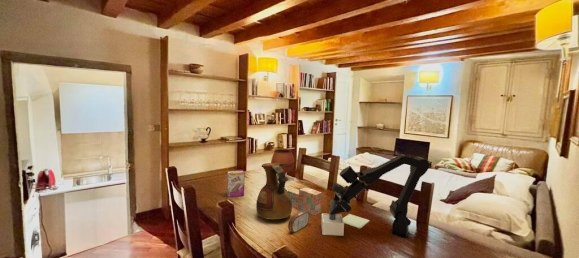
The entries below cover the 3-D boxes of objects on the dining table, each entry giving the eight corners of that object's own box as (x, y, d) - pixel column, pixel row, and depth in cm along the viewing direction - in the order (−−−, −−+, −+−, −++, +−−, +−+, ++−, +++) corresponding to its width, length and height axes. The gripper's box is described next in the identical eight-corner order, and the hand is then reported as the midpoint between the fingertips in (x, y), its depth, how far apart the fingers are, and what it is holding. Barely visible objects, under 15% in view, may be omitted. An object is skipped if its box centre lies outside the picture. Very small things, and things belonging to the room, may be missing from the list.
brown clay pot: (268, 182, 203) (268, 151, 201) (273, 176, 222) (274, 147, 220) (292, 184, 200) (292, 152, 198) (295, 177, 219) (296, 148, 217)
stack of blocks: (287, 205, 159) (287, 185, 158) (293, 202, 164) (294, 183, 163) (314, 215, 145) (315, 194, 144) (321, 212, 149) (322, 192, 148)
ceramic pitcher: (275, 206, 156) (276, 158, 154) (299, 217, 142) (301, 164, 139) (248, 215, 143) (249, 162, 140) (272, 228, 128) (273, 169, 126)
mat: (369, 220, 140) (369, 220, 140) (360, 228, 130) (360, 228, 130) (349, 214, 147) (349, 213, 147) (339, 221, 138) (339, 220, 138)
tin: (305, 222, 136) (305, 207, 135) (310, 224, 134) (310, 209, 133) (287, 233, 124) (287, 216, 123) (292, 235, 122) (292, 218, 121)
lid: (339, 217, 132) (340, 198, 131) (341, 224, 123) (342, 204, 123) (323, 216, 132) (324, 197, 131) (324, 223, 124) (325, 203, 123)
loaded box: (340, 225, 133) (341, 214, 132) (343, 235, 123) (344, 223, 122) (321, 224, 134) (321, 213, 133) (322, 234, 124) (322, 222, 123)
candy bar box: (227, 197, 169) (227, 173, 167) (226, 195, 174) (226, 171, 172) (244, 196, 172) (244, 172, 171) (243, 193, 177) (243, 170, 176)
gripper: (339, 172, 135) (317, 192, 136) (345, 183, 116) (319, 206, 118) (354, 188, 135) (332, 207, 137) (361, 201, 116) (336, 223, 118)
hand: (329, 210), depth 127 cm, fingers open, 8 cm apart
